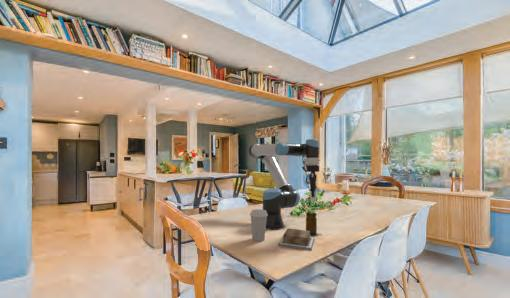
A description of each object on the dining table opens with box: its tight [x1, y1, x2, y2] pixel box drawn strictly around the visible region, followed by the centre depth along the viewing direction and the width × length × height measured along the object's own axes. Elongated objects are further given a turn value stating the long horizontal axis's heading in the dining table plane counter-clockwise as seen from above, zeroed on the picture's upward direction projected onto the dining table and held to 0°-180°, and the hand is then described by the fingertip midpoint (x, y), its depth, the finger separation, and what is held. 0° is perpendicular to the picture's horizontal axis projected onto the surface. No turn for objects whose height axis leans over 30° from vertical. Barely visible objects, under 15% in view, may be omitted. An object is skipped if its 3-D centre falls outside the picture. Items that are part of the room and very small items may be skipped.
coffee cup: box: [249, 208, 268, 243], centre depth 125 cm, size 10×10×15 cm
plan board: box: [277, 236, 315, 251], centre depth 121 cm, size 16×16×1 cm
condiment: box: [305, 211, 323, 238], centre depth 136 cm, size 7×8×12 cm
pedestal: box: [282, 228, 311, 246], centre depth 121 cm, size 12×12×4 cm
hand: (313, 201), depth 139 cm, fingers open, 13 cm apart
